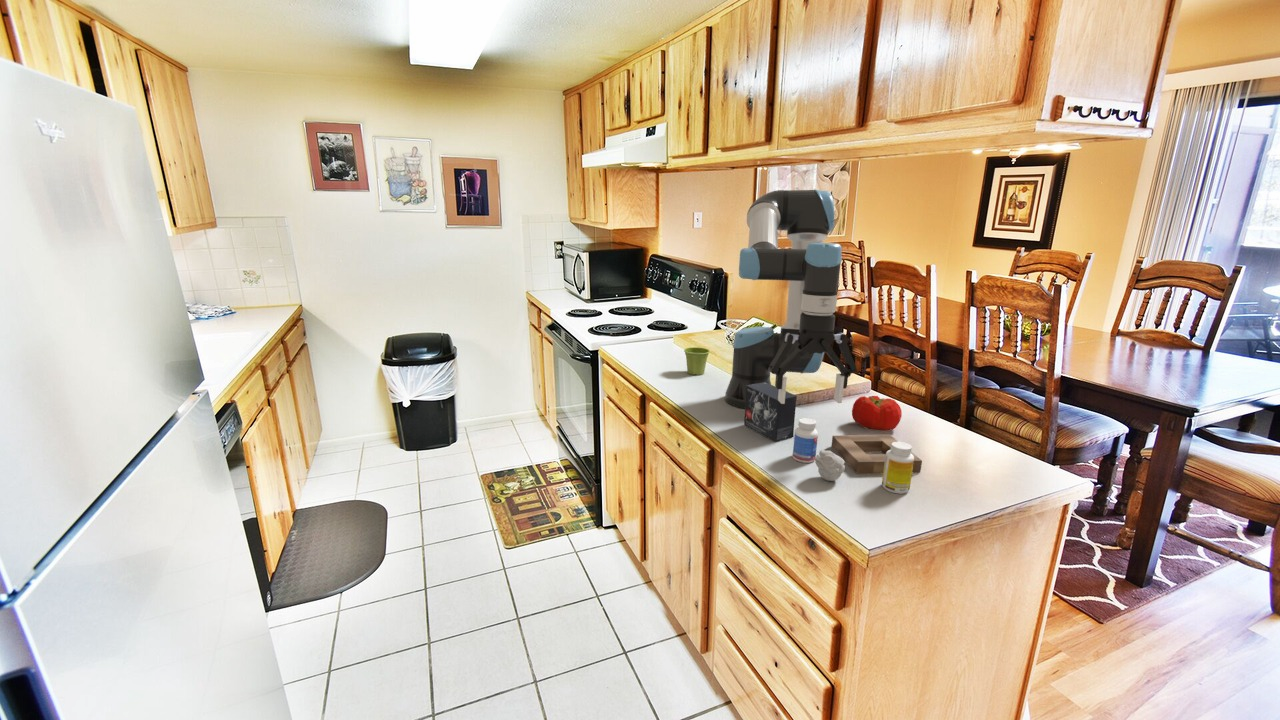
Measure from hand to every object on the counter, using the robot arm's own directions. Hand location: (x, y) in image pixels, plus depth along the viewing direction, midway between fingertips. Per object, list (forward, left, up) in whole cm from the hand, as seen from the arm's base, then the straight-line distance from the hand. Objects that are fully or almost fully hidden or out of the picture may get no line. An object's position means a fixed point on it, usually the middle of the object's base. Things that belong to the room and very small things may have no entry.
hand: (809, 401), depth 129 cm
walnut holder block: (+1, +17, -15) cm, 23 cm away
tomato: (-19, +27, -15) cm, 36 cm away
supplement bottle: (+15, +15, -15) cm, 26 cm away
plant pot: (-72, -15, -15) cm, 75 cm away
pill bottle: (0, 0, -15) cm, 15 cm away
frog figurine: (+11, +2, -15) cm, 18 cm away
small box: (-17, -4, -15) cm, 23 cm away
